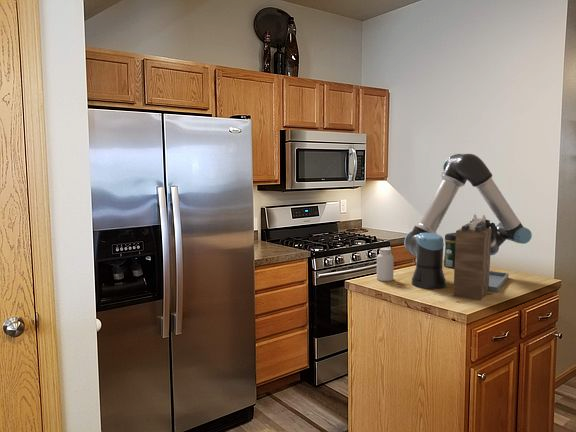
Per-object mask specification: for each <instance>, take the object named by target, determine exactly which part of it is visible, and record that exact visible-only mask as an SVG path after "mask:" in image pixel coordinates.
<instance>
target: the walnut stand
mask: <svg viewBox="0 0 576 432" xmlns="http://www.w3.org/2000/svg"><path fill="white" fill-rule="evenodd" d="M469 223H470V222H468V223H466V224H464V225H462V226H461V228H459V229H457V230H456V231H455V233H456V246H455V268H453V269H454V273H453V291H452V292H453V293H452V294H453V295H452V296H453V297H456V298H462V299H468V300H474V301H482V300H483V298H484V297H486V295H487V294H488V293H489V291H488V290H489V271H491V270H490V268H491V266H490V265H491V255H490V252H491V234H492V228H491V227H490V228H486V225H487V223H482V224H480V225H478V226H477V227H475V231H470V230H468V229H469Z"/></svg>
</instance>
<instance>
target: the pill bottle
mask: <svg viewBox="0 0 576 432" xmlns="http://www.w3.org/2000/svg"><path fill="white" fill-rule="evenodd" d="M391 253H392V249H391V248H387V247H382V248H379V254H377V256H376V280H378V281H379V282H380V281H382V282H391V281H393V280H394V267H395V266H394V264H395V263H394V261H395V260H394V255H393V254H391Z"/></svg>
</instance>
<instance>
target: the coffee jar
mask: <svg viewBox="0 0 576 432" xmlns="http://www.w3.org/2000/svg"><path fill="white" fill-rule="evenodd" d="M444 246H445V248H444V256H443V266H444V267H446V268H448V269H449V268H451V269H454V268H455V246H456V232H450V233H446V234H445V235H444Z"/></svg>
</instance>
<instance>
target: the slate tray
mask: <svg viewBox="0 0 576 432" xmlns="http://www.w3.org/2000/svg"><path fill="white" fill-rule="evenodd" d="M508 279H509V273H508V272H501V271H492V270H490V271H489V290H488V292H492V293H499V292H500V290H501V288H502V287H503V285H504V284H505V283H506V281H507V280H508Z"/></svg>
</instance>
